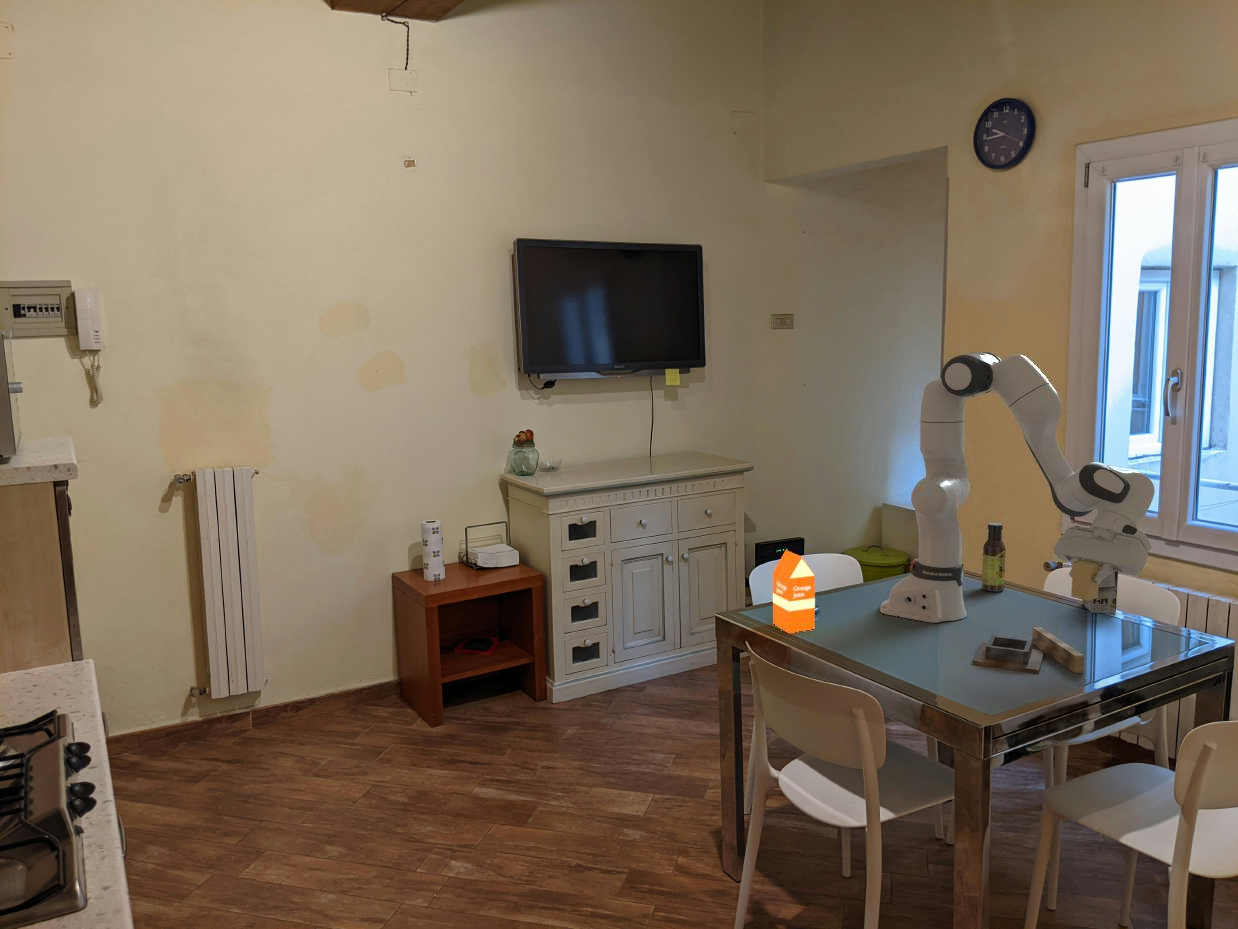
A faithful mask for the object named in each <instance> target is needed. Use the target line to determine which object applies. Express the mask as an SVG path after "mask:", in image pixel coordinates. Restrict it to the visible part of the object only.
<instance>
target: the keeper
mask: <svg viewBox="0 0 1238 929" xmlns="http://www.w3.org/2000/svg"><path fill="white" fill-rule="evenodd" d="M1044 656H1045V652H1044V650H1041V649H1037V648H1036V649H1034V648H1033V643H1032V639H1026V638H1019V637H1011V636H1003V635H994V634H990V637H989V639H988V641H987V642H980V645H979V647H978V649H977V650H976V653H975V655H974V657H973V658H972V665H976V666H977V665H978V666H984V667H989V668H990V667H991V668H996V669H997V668H999V669H1005V670H1010V671H1019V672H1027V673H1034V674H1040V669H1041V667H1042V663H1043V661H1044V660H1043V659H1044Z"/></svg>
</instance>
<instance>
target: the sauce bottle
mask: <svg viewBox="0 0 1238 929" xmlns="http://www.w3.org/2000/svg"><path fill="white" fill-rule="evenodd" d="M1003 526H1004V525H1003V523H999V522H989V523H988V524H987V531H988V532H987V533H988V534H987V540H986V541H985V543H984V544H983V552H982V566H981V568H982V569H981V583H982V584H981V589H982V590H984V591H987V592H995V593H996V592H998V593H999V592H1001V591H1004V589H1005V583H1006V581H1005V580H1006V558H1007V555H1006V554H1007V552H1006V551H1007V549H1006V545H1005V544H1004V541H1003V540H1002V539H1003V536H1002V534H1003V528H1004V527H1003Z"/></svg>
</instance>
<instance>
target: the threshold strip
mask: <svg viewBox="0 0 1238 929" xmlns="http://www.w3.org/2000/svg"><path fill="white" fill-rule="evenodd" d="M1031 629H1032V631H1031V633H1032V634H1031V640H1032V645H1034V646H1035V647H1037V648H1038V649H1039V650H1044V654H1047V655H1048V656H1050V657H1052V659H1054V660H1055V661H1057V662H1058V663H1060V664H1061V665H1063V666H1064V667H1066V668H1067V669H1068V670H1070V671H1071V672H1073V673H1074V674H1075V673H1076V674H1078V673H1079V674H1081V673H1082V674H1083V673H1084V669H1085V668H1084V665H1085V655H1084V654H1083V653H1081V652H1079V651H1078V650H1077V649H1075V648H1074V647H1072V646H1071V645H1068V644H1067V643H1066V642H1064V641H1063V640H1061V639H1060V638H1058V637H1057V636H1055V635H1054V634H1052V633H1050V632H1049V631H1048V630H1046V629H1044V628H1043V627H1041V626H1035V627H1034V626H1032V628H1031Z"/></svg>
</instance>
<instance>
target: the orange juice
mask: <svg viewBox="0 0 1238 929" xmlns="http://www.w3.org/2000/svg"><path fill="white" fill-rule="evenodd" d="M815 577H816V575H815V574H814V572H813V570H812V569H811V568H810V566H809V565H808V564H807V562H806V561H805V559H804V558H803V557H802V556H801V555H798V554H796V553H793V552H792V551H790V550H787V549H786V550H785V551H784V553H783V554H782V555H781V558H780V560H779V561H778V562H777V564H776V566H775V567H774V569H773V570H772V624H773V625H774V624H775V625H774V626H775V627H777V628H779V629H780V630H782V629H783V630H782V631H784V632H786V633H787V634H796V633H795V632H797V633H800V632H799V631H803V632H807V631H806V630H810V631H812V630H811V629H815V628H816V627H815V618H816V617H815V616H816V614H815V613H816V611H815V609H816V597H815V596H816V595H815V594H816V593H815V592H816V591H815V590H816V589H815V588H816V587H815V586H816V584H815V583H816V582H815V581H816V580H815Z"/></svg>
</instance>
